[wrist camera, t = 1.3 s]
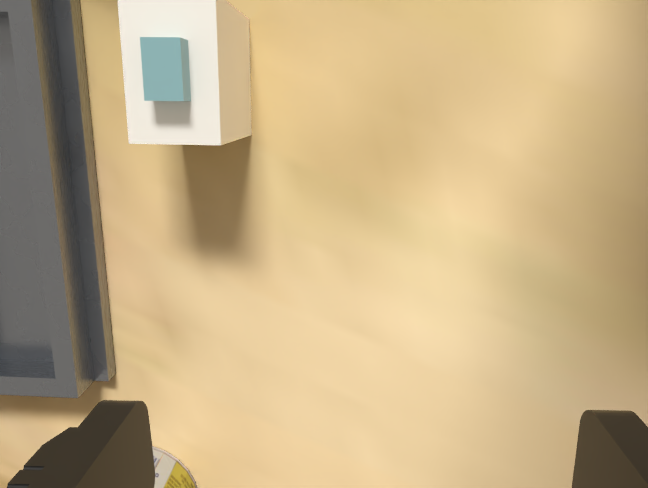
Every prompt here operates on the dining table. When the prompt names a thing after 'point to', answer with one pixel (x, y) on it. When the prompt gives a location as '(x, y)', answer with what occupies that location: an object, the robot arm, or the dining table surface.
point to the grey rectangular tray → (49, 208)
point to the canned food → (170, 471)
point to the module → (185, 71)
